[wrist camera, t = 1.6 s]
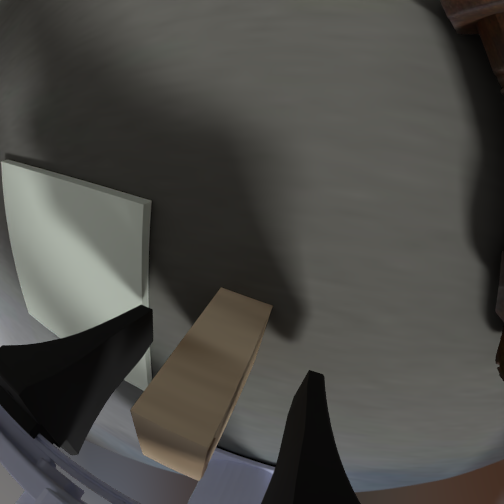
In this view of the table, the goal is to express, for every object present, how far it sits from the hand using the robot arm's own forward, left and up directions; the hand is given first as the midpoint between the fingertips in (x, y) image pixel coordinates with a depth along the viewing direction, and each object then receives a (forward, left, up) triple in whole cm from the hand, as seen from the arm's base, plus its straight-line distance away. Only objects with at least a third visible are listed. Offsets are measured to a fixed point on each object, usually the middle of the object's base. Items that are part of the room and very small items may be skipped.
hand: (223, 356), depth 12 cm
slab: (0, 0, -2) cm, 2 cm away
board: (-2, +12, -2) cm, 12 cm away
